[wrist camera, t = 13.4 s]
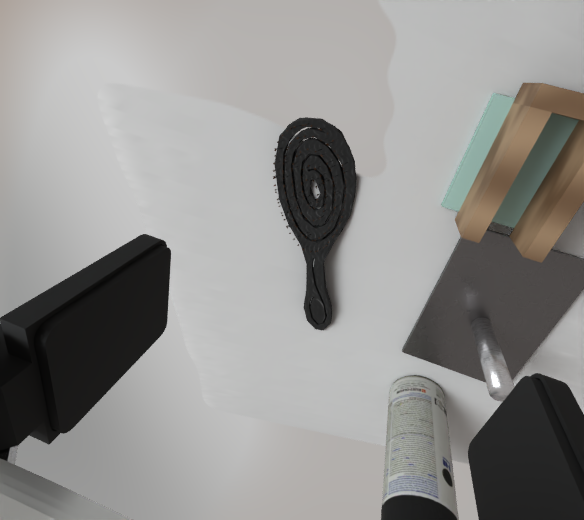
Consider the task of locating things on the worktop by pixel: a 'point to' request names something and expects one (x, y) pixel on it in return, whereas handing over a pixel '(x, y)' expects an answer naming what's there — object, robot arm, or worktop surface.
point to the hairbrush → (315, 200)
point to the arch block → (508, 161)
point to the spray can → (418, 454)
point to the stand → (493, 309)
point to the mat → (529, 173)
